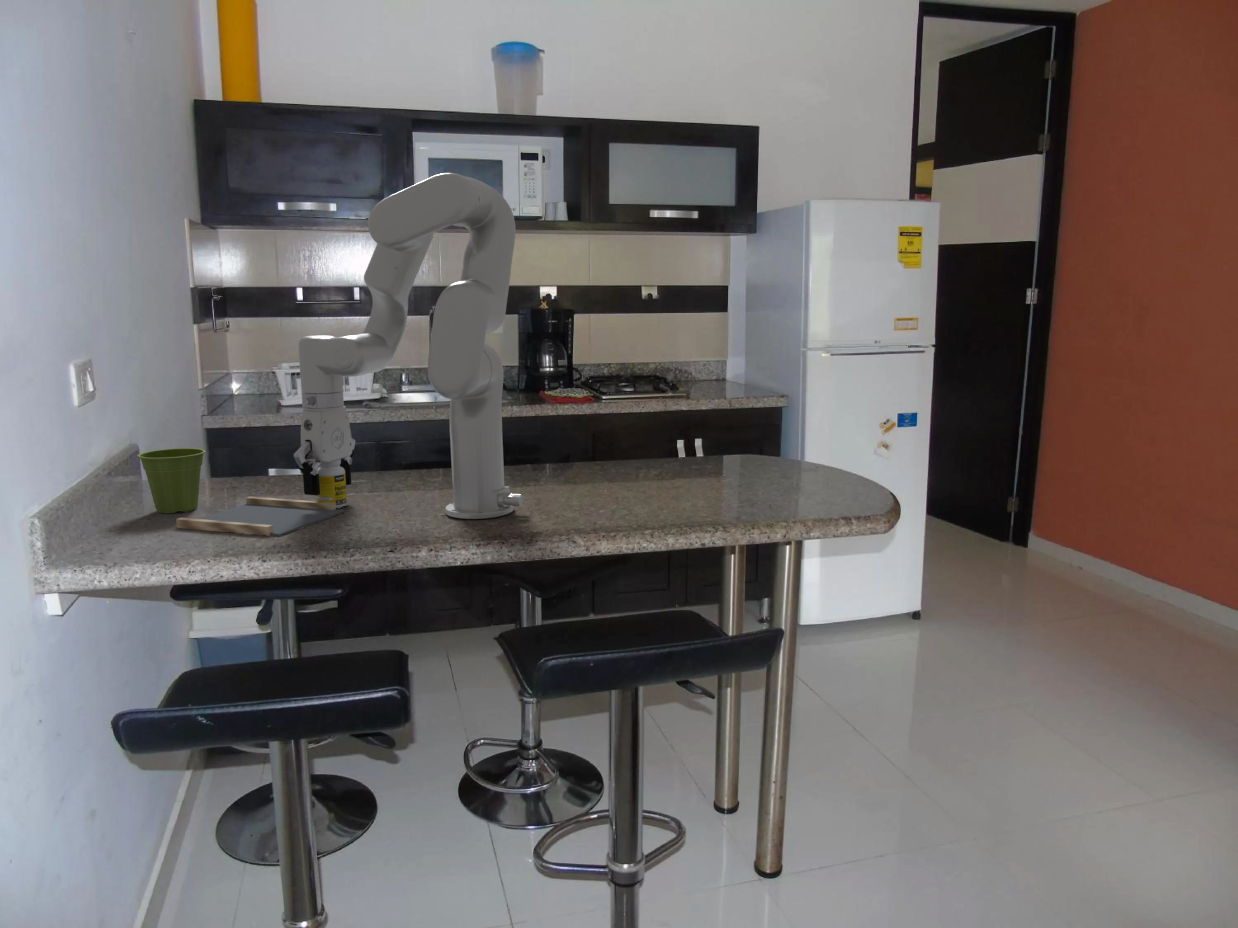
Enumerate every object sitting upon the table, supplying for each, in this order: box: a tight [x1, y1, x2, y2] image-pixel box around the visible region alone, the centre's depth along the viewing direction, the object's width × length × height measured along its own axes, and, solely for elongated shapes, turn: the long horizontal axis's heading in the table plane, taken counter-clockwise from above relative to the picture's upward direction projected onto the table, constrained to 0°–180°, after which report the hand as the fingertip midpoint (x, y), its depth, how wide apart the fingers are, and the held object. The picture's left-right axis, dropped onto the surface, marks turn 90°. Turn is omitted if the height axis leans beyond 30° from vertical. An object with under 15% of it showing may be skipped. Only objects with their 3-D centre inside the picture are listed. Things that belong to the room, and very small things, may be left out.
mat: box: [199, 503, 345, 537], centre depth 169 cm, size 22×18×1 cm
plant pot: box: [136, 447, 207, 514], centre depth 177 cm, size 12×12×11 cm
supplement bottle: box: [316, 459, 348, 509], centre depth 178 cm, size 5×5×10 cm
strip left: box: [175, 517, 273, 537], centre depth 161 cm, size 20×1×2 cm, turn 71°
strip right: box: [245, 496, 336, 510], centre depth 178 cm, size 20×1×2 cm, turn 71°
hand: (328, 489), depth 178 cm, fingers open, 9 cm apart
